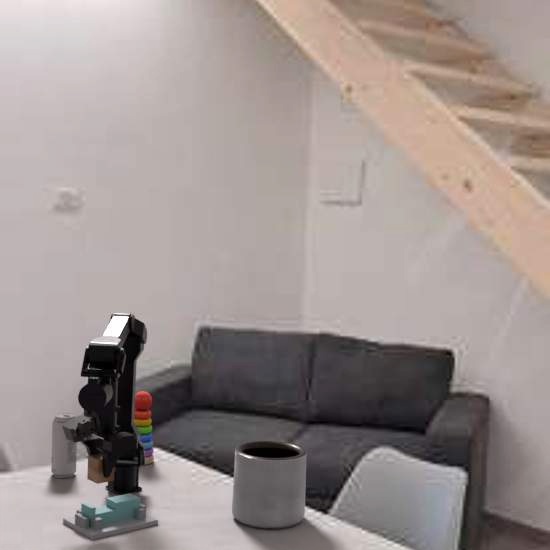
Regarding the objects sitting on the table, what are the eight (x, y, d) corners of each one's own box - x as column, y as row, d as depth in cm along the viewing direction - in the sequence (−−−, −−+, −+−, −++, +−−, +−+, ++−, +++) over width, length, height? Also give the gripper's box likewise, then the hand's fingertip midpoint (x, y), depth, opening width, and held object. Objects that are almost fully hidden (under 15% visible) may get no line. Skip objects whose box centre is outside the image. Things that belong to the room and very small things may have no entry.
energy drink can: (58, 470, 240) (60, 411, 238) (80, 473, 238) (81, 414, 237) (46, 476, 234) (47, 416, 233) (68, 479, 232) (70, 419, 231)
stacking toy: (129, 467, 245) (131, 395, 244) (119, 459, 252) (121, 389, 251) (158, 464, 249) (160, 393, 247) (147, 456, 256) (149, 387, 254)
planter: (292, 535, 200) (296, 463, 199) (221, 524, 205) (224, 453, 204) (312, 512, 216) (315, 445, 214) (245, 503, 220) (248, 437, 219)
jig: (127, 509, 213) (127, 495, 212) (158, 524, 204) (158, 510, 203) (63, 522, 202) (63, 509, 202) (92, 539, 193) (92, 525, 193)
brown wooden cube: (103, 475, 203) (104, 452, 203) (113, 480, 200) (114, 457, 200) (87, 478, 201) (88, 455, 200) (97, 483, 198) (97, 460, 197)
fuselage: (129, 511, 208) (129, 493, 208) (139, 516, 205) (140, 498, 205) (80, 521, 200) (81, 503, 200) (90, 527, 197) (91, 508, 197)
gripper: (46, 397, 201) (45, 470, 202) (92, 414, 187) (90, 492, 188) (93, 392, 208) (91, 462, 209) (140, 408, 194) (137, 483, 195)
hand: (101, 474), depth 200 cm, fingers closed on brown wooden cube, 4 cm apart
